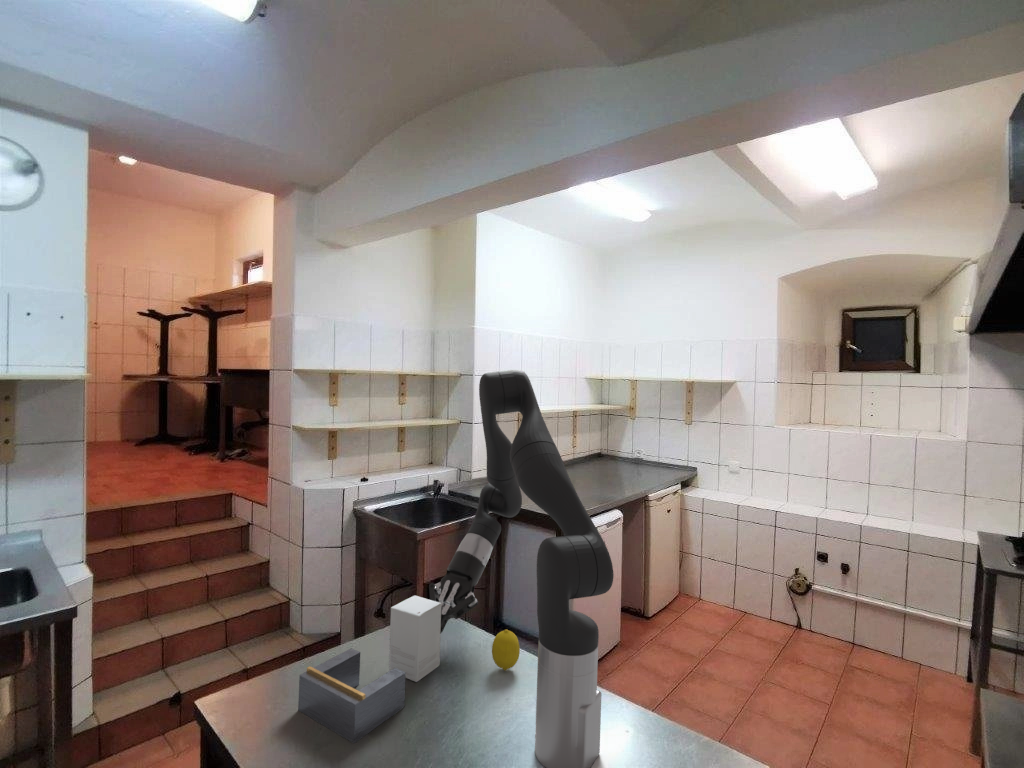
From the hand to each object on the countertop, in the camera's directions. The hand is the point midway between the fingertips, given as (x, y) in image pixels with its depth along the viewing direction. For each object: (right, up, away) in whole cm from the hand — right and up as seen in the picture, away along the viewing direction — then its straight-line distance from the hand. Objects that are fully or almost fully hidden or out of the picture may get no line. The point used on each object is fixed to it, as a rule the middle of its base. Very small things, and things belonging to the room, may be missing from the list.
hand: (433, 633), depth 104 cm
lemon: (+15, -6, -4) cm, 16 cm away
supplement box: (-3, -5, -4) cm, 7 cm away
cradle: (-11, -4, -17) cm, 20 cm away
